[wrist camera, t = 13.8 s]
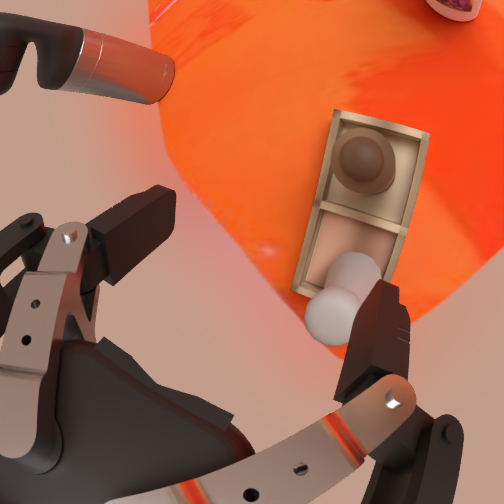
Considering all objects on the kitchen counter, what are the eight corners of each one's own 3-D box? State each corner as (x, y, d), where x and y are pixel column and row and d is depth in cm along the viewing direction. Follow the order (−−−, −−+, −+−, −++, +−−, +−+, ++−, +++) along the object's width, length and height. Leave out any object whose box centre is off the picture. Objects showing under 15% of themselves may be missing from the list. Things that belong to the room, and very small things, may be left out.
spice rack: (299, 282, 35) (290, 290, 32) (340, 116, 28) (333, 109, 26) (376, 311, 31) (373, 322, 28) (427, 139, 24) (430, 133, 22)
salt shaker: (331, 296, 32) (289, 353, 21) (332, 247, 31) (288, 280, 20) (381, 300, 29) (366, 364, 18) (384, 249, 28) (375, 286, 17)
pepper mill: (346, 186, 29) (316, 182, 18) (356, 143, 27) (330, 113, 17) (389, 199, 27) (386, 202, 16) (399, 155, 26) (401, 130, 15)
